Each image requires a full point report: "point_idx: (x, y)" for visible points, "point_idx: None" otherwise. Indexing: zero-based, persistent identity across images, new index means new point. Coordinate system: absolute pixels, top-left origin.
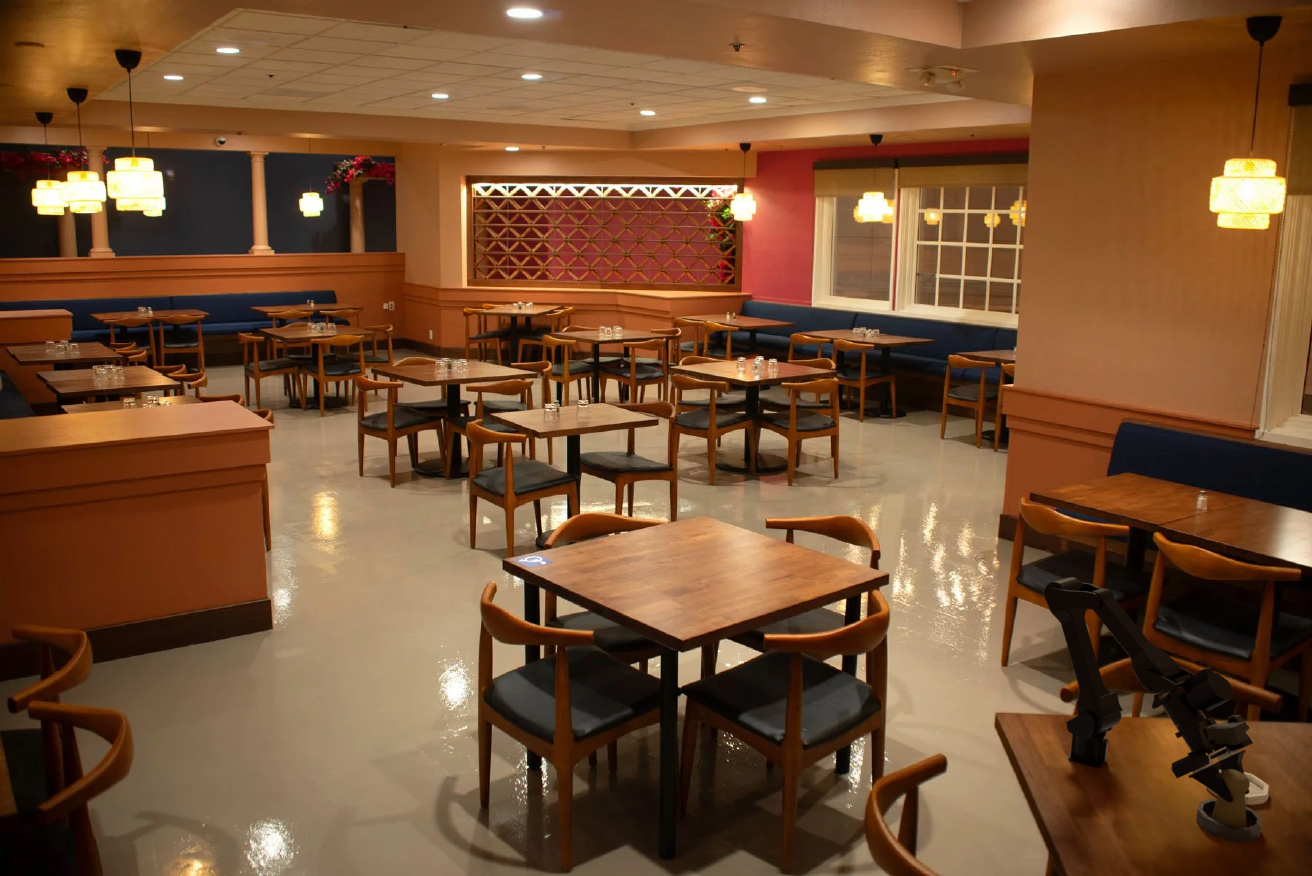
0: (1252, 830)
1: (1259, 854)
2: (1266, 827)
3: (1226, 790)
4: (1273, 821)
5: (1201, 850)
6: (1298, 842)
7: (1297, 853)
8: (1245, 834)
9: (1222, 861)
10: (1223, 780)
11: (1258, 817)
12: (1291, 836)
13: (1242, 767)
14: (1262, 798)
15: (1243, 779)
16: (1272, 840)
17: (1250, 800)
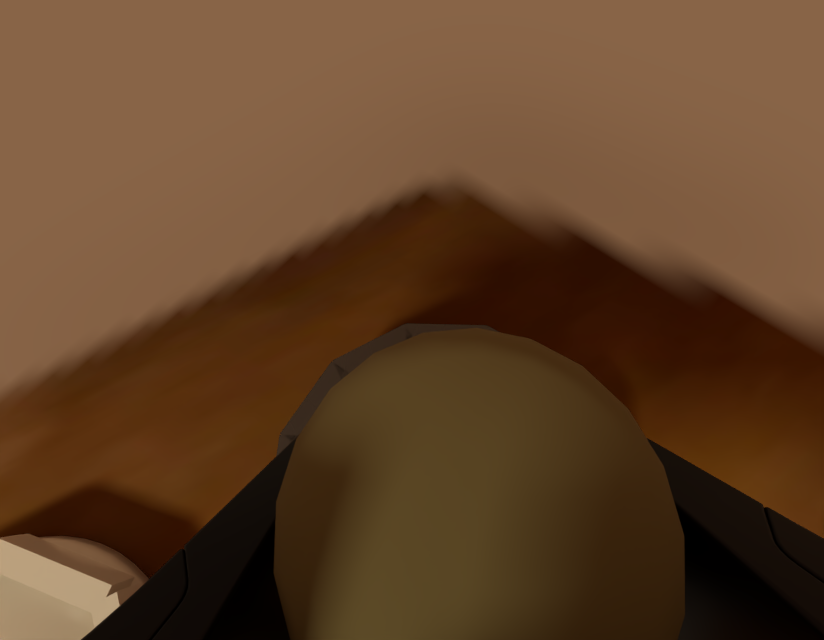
0: (475, 326)
1: (522, 275)
2: (289, 384)
3: (670, 453)
4: (208, 400)
5: (755, 409)
6: (295, 257)
7: (377, 218)
8: None
9: (721, 312)
10: (726, 543)
11: (333, 380)
12: (272, 293)
13: (96, 633)
14: (39, 544)
15: (491, 354)
16: (373, 310)
17: (112, 572)
